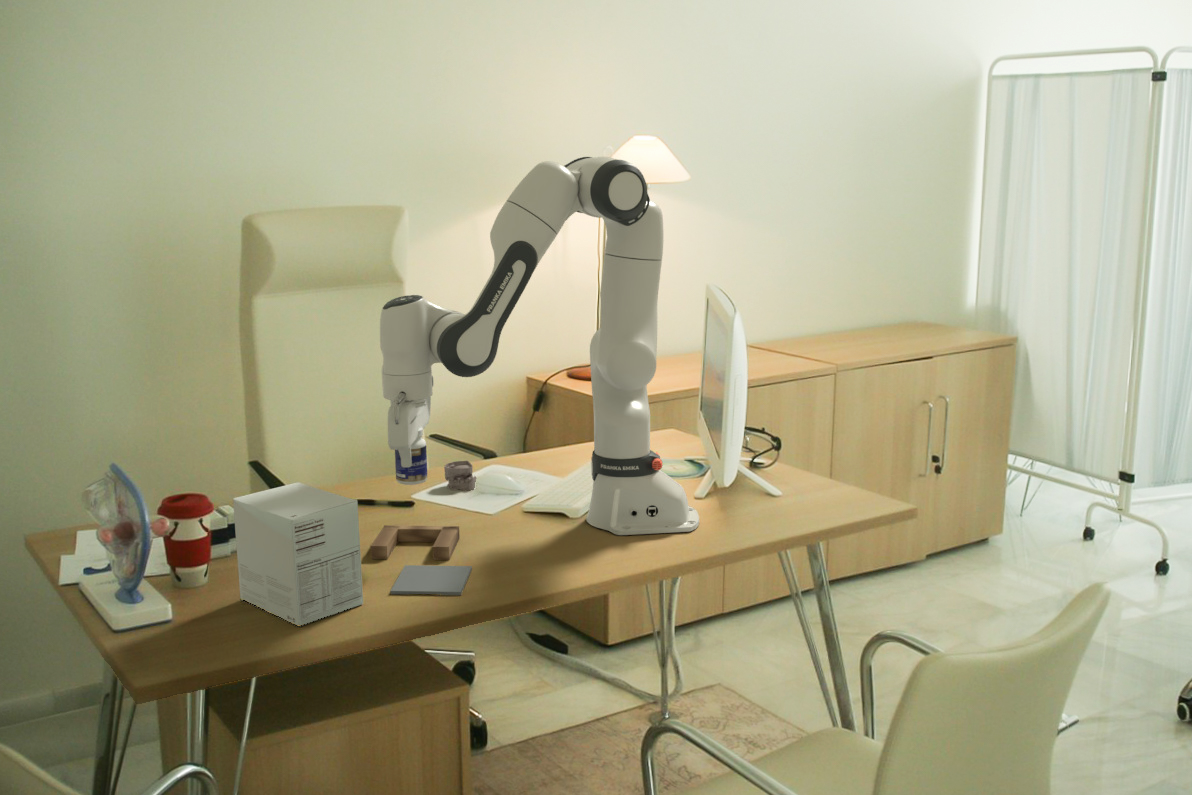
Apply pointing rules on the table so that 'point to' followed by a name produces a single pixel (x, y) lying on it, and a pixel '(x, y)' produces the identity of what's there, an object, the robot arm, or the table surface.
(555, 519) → the table surface
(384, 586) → the table surface
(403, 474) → the pill bottle
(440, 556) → the holder
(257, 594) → the supplement box
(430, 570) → the mat
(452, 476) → the dental mold
